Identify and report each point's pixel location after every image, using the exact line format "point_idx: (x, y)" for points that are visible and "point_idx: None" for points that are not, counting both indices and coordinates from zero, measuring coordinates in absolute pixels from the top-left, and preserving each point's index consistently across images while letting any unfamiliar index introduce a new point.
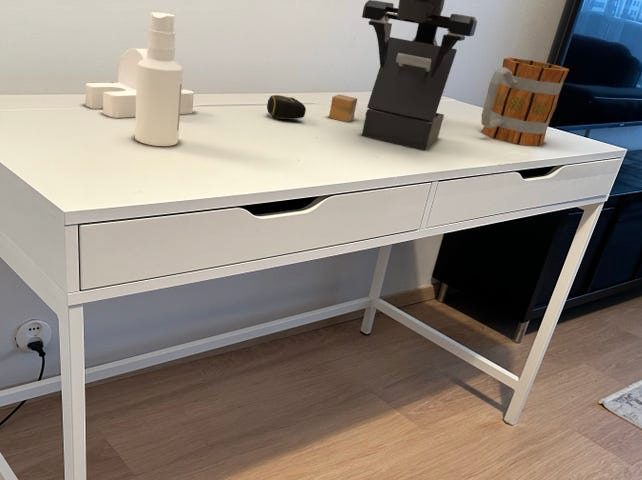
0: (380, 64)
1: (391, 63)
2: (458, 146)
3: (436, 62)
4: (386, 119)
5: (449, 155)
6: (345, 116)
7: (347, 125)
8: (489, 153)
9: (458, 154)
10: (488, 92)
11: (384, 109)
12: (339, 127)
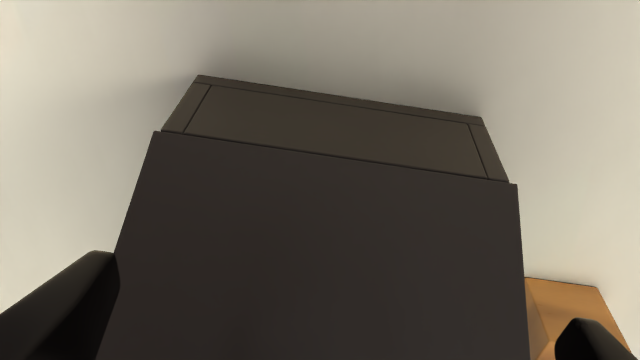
0: (608, 333)
1: None
2: (119, 229)
3: (2, 347)
4: (396, 150)
5: (97, 71)
6: (542, 291)
7: (530, 235)
8: (10, 213)
9: (78, 117)
10: None
11: (422, 175)
12: (571, 185)
